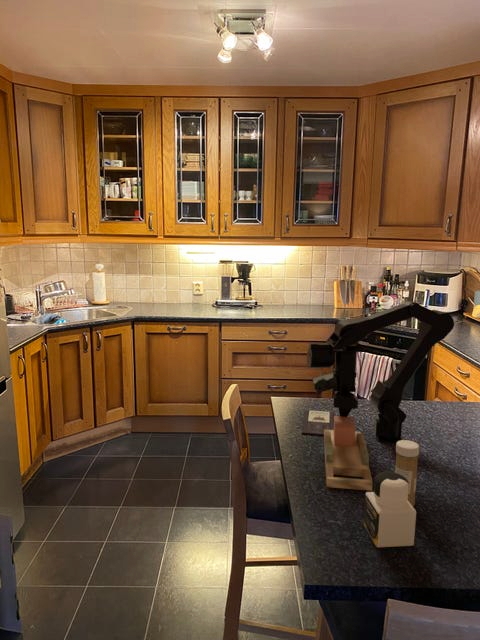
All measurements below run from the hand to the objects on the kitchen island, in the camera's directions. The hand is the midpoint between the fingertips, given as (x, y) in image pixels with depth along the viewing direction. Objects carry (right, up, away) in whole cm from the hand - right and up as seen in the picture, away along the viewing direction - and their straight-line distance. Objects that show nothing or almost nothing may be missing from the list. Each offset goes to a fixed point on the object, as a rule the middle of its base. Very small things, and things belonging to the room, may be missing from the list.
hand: (342, 421), depth 132 cm
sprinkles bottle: (+6, -11, -31) cm, 33 cm away
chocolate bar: (-5, -4, +12) cm, 13 cm away
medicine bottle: (0, -13, -42) cm, 44 cm away
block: (-1, -4, -5) cm, 6 cm away
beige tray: (-2, -7, -12) cm, 14 cm away
